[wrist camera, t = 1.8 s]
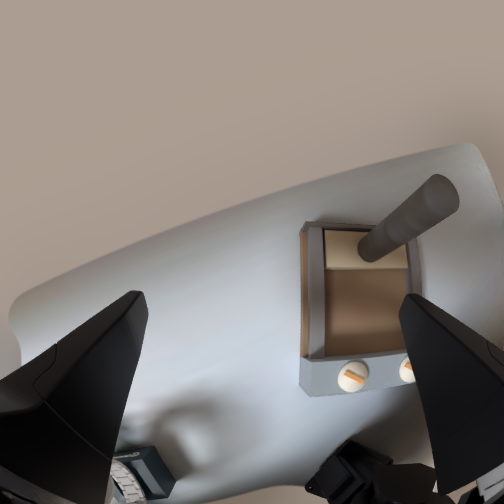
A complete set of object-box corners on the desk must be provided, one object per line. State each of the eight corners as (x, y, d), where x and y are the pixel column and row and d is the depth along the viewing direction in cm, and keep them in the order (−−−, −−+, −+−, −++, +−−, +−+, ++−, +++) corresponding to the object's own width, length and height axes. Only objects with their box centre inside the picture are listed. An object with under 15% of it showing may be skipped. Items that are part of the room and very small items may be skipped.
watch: (143, 427, 19) (80, 480, 8) (185, 494, 17) (155, 566, 6) (97, 436, 18) (28, 477, 7) (138, 500, 16) (94, 558, 5)
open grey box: (412, 372, 20) (427, 375, 18) (299, 385, 20) (305, 392, 18) (406, 237, 24) (419, 228, 21) (299, 232, 24) (305, 221, 21)
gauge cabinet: (412, 372, 20) (440, 377, 16) (299, 385, 20) (311, 398, 16) (413, 346, 21) (442, 347, 16) (300, 356, 21) (313, 363, 16)
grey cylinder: (402, 270, 22) (492, 226, 11) (323, 269, 22) (390, 213, 11) (398, 238, 22) (479, 179, 11) (321, 234, 22) (379, 155, 11)
